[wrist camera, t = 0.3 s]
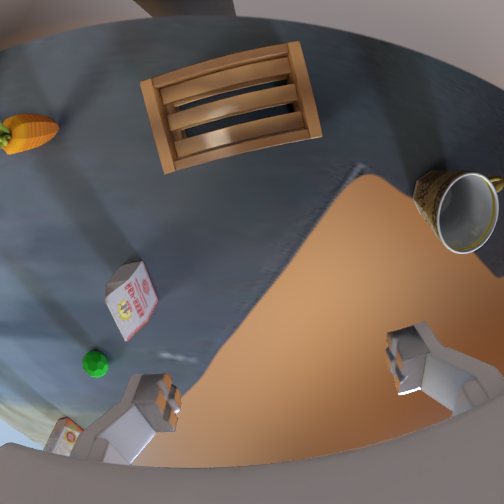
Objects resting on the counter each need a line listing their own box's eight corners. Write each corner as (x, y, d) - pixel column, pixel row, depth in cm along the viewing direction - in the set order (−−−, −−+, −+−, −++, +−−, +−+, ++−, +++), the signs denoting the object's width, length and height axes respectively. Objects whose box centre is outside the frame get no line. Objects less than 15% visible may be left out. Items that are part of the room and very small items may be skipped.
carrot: (64, 104, 35) (-8, 107, 21) (76, 133, 37) (5, 146, 23) (41, 123, 36) (-30, 134, 22) (52, 151, 38) (-18, 170, 24)
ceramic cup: (418, 239, 42) (452, 269, 33) (390, 182, 39) (424, 201, 30) (479, 194, 39) (519, 214, 30) (456, 136, 36) (499, 145, 27)
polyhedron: (116, 362, 53) (108, 380, 48) (99, 368, 54) (91, 384, 49) (100, 342, 51) (90, 359, 47) (83, 349, 52) (73, 365, 48)
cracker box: (57, 418, 63) (28, 477, 44) (69, 416, 62) (39, 478, 43) (93, 449, 68) (71, 506, 49) (106, 447, 67) (84, 508, 48)
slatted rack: (164, 89, 35) (139, 82, 27) (290, 58, 33) (299, 40, 25) (184, 162, 39) (164, 174, 31) (308, 133, 37) (322, 136, 29)
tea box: (137, 303, 47) (115, 342, 38) (121, 265, 45) (93, 299, 35) (158, 300, 47) (138, 340, 38) (142, 260, 44) (116, 295, 35)
